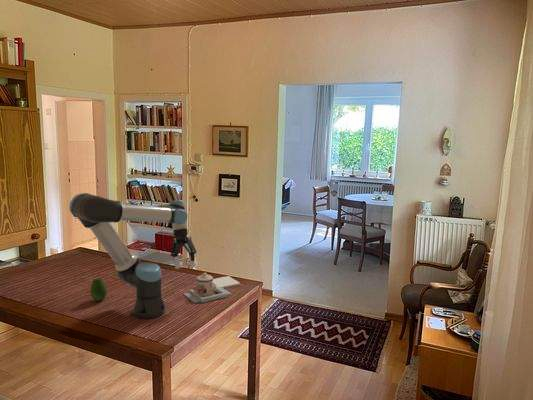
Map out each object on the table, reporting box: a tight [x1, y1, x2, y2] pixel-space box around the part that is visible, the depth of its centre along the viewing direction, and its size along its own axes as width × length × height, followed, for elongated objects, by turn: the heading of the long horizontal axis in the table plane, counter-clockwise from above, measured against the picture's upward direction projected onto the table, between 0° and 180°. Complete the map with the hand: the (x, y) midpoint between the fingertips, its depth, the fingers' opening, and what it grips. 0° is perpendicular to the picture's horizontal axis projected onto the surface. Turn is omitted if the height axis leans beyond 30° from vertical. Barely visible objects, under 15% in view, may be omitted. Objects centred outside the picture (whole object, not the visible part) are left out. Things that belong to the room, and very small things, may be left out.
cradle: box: [183, 285, 232, 304], centre depth 218 cm, size 22×15×2 cm
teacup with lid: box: [196, 272, 216, 297], centre depth 219 cm, size 12×9×12 cm
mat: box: [213, 275, 241, 289], centre depth 237 cm, size 14×14×1 cm
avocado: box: [90, 277, 108, 302], centre depth 208 cm, size 8×8×12 cm
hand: (185, 268), depth 215 cm, fingers open, 13 cm apart
